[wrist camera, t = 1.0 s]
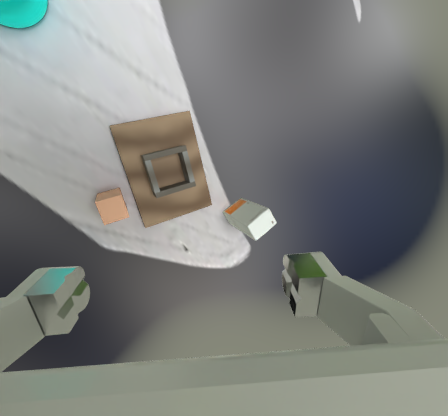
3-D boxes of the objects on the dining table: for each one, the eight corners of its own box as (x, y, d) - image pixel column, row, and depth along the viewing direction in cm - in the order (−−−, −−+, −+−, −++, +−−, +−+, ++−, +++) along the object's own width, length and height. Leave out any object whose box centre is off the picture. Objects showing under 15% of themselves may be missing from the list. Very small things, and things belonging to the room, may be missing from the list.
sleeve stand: (109, 126, 42) (109, 123, 38) (187, 111, 48) (195, 108, 43) (144, 225, 49) (147, 233, 44) (209, 203, 54) (218, 208, 50)
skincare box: (240, 196, 57) (269, 207, 47) (248, 210, 59) (277, 223, 49) (221, 211, 56) (247, 226, 45) (229, 225, 58) (256, 241, 47)
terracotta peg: (97, 193, 44) (94, 202, 37) (119, 187, 45) (121, 194, 38) (105, 213, 45) (104, 225, 38) (126, 206, 47) (129, 216, 40)
